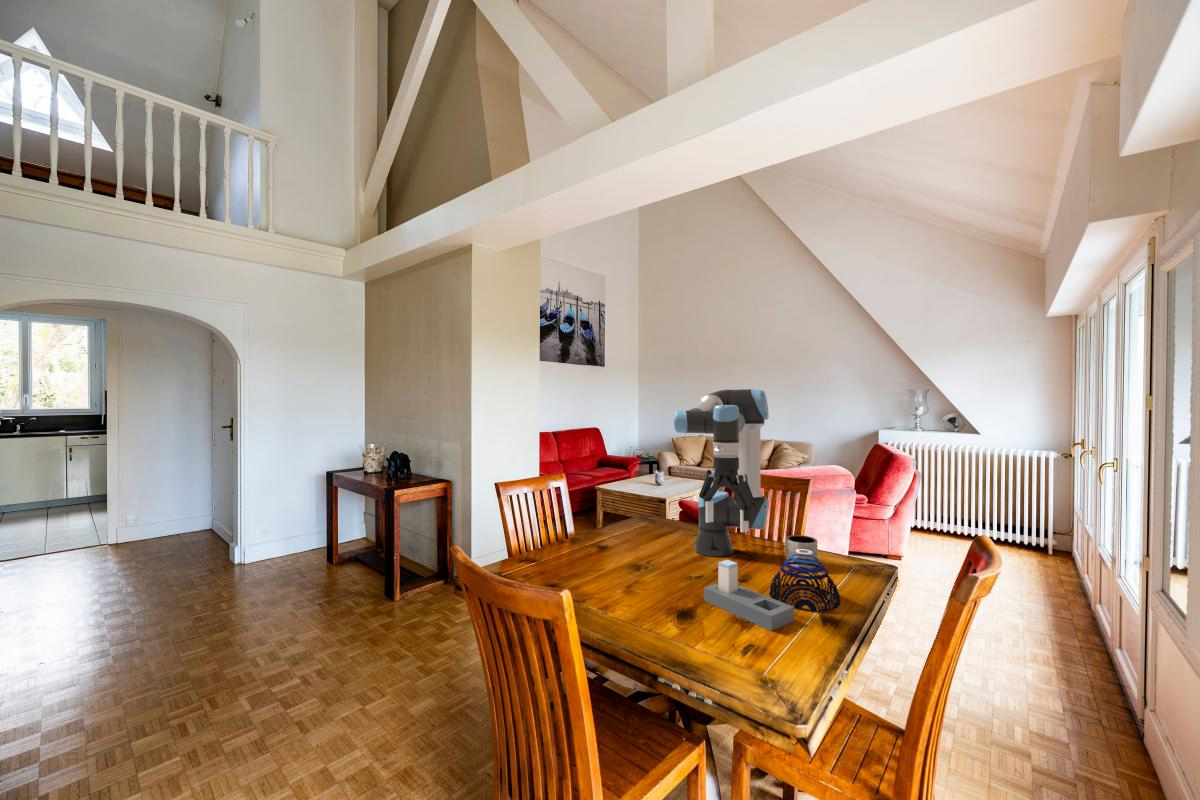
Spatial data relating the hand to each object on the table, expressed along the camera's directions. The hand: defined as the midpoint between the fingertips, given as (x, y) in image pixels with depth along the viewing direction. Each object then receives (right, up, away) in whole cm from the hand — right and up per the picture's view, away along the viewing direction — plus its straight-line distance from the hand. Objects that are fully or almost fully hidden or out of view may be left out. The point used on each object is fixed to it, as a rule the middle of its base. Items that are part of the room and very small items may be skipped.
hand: (726, 526), depth 150 cm
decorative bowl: (+25, -23, +3) cm, 34 cm away
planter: (+36, -23, +33) cm, 54 cm away
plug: (0, -23, 0) cm, 23 cm away
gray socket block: (+4, -23, -6) cm, 24 cm away
